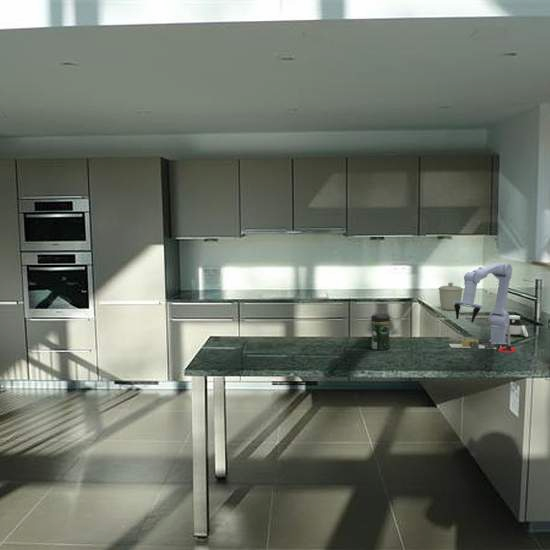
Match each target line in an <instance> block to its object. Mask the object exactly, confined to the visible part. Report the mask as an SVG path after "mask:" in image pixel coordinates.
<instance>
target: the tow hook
mask: <svg viewBox="0 0 550 550" xmlns="http://www.w3.org/2000/svg"><path fill="white" fill-rule="evenodd" d="M506 343H507V344H505V345H506V346H501V348H497V351H498V352H501V353H505V352H506V353H507V354H513V353H515V352H516V351H517V349H516V347H512V345H511V337H510V326H508V336H507V340H506ZM507 349H508V350H509V351H505V350H507Z"/></svg>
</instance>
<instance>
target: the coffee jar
mask: <svg viewBox="0 0 550 550" xmlns="http://www.w3.org/2000/svg"><path fill="white" fill-rule="evenodd" d="M370 323H371V327H372V331H371V344H370V348H371V349H372V350H374V351H375V350H377V351H385V350H389V349H390V348H391V342H390V329H389V328H390V323H391V319H390V315H389V314H388V313H387V314H386V313H378V314H372V315H371V319H370Z"/></svg>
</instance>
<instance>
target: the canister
mask: <svg viewBox="0 0 550 550" xmlns="http://www.w3.org/2000/svg"><path fill="white" fill-rule="evenodd" d="M438 291H439V302H440V308H441V309H442V310H443V309H445V310H444V311H449V310H454V311H455V307H454V305H455V304H453V301H460V302H462V296H463V295H462V293H463V291H464V287H463V288H462V287H461V286H458V285H454V282H448V284H447V285H441V286H440V287H438Z"/></svg>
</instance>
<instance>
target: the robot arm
mask: <svg viewBox="0 0 550 550" xmlns="http://www.w3.org/2000/svg"><path fill="white" fill-rule="evenodd" d="M489 274H492V275H493V276H494V278H496V279H498V285H497V286H498V287H497V293H496V299H495V306H494V309H492V310H491V311H490V312H489V313H490V314H489V315H488V320H487V322H488V324H489V325H490V327H491V328H490V339H488V341H492V343H495V344H496V345H507V341H506V336H507V335H506V328H507V326H508V325H509V322H510V320H509V315H510V313H509V312H508V311H507V310H506V306H507V300H508V292H509V287H510V280H511V278H512V275H513V266H512V265H511V263H508V262H507V263H502V262H492V263H490V264H489V265H488V266H486V267H483V266H478V268H477V269H474V270H472V271H468V272H467V271H466V273H465V274H464V275H463V281H464V283H463V285H464V288H463V295H462V299H461V302H460V301H453V304H455V305H454V307H455V310H454V311H455V319H456V320H459V316H460V311H461V306H462V307H467V308H472V317H471V323H474V321H475V319H476V316H477V315H478V314H479V312H480V311H481V310H483V305H482V304H477V303H476V304H475V303H474V302H475V298H476V292H477V287H478V284H480V282H481V281H482V280H483V279H485V278H487V277H488V275H489Z"/></svg>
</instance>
